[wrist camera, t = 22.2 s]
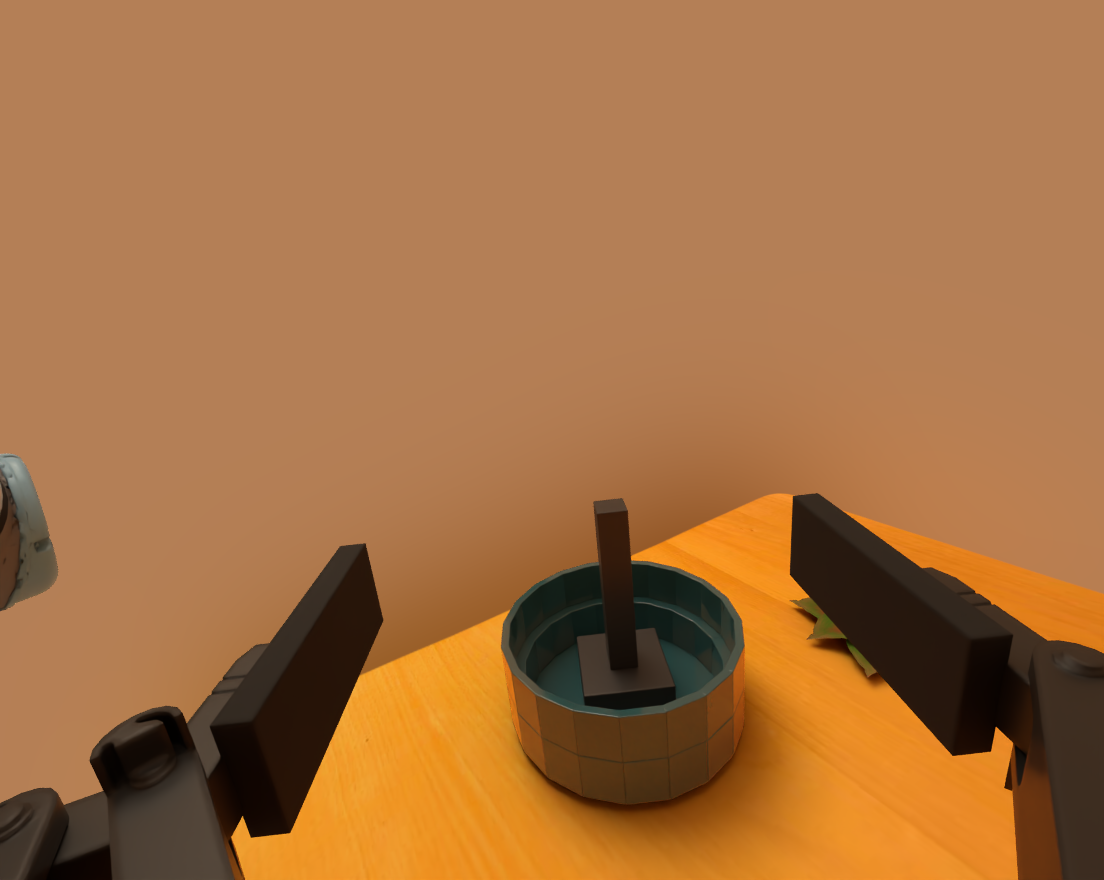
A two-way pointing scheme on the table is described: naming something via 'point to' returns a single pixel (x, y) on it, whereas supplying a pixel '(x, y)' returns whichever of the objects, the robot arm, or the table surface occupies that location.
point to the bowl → (631, 734)
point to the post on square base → (621, 629)
